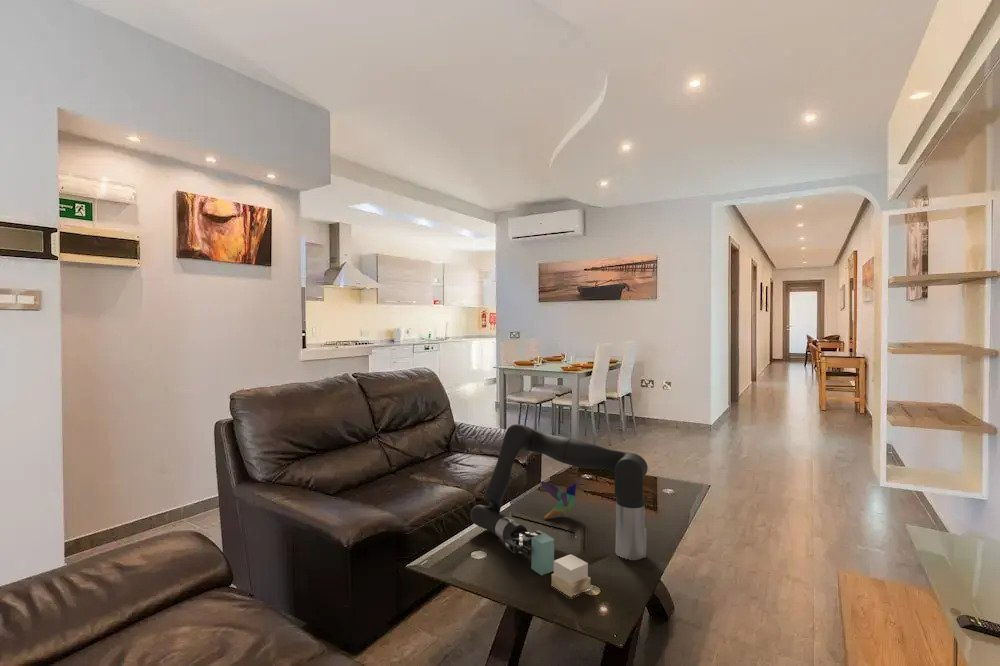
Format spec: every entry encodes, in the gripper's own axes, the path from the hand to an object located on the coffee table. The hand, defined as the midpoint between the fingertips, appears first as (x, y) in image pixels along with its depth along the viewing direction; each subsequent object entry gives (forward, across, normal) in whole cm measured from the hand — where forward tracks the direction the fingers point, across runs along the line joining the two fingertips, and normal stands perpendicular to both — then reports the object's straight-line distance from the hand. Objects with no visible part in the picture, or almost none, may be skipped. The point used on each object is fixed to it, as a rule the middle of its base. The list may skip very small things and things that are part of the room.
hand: (541, 549), depth 156 cm
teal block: (+1, 0, +6) cm, 6 cm away
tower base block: (+14, 0, +6) cm, 15 cm away
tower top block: (+13, 0, +2) cm, 13 cm away
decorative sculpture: (-27, +34, +6) cm, 44 cm away
